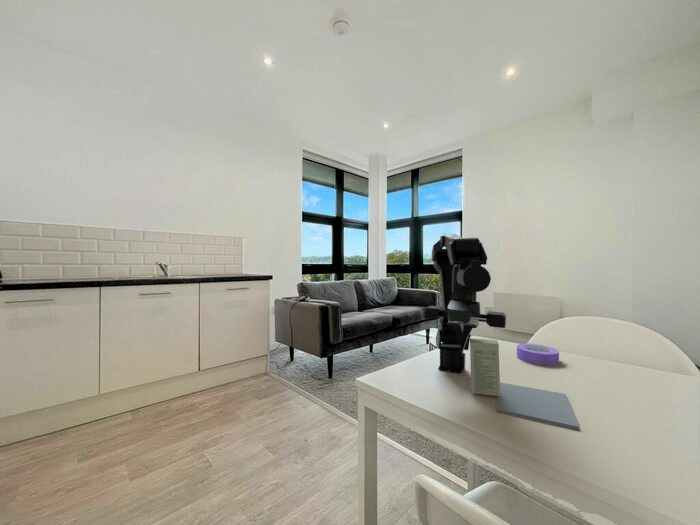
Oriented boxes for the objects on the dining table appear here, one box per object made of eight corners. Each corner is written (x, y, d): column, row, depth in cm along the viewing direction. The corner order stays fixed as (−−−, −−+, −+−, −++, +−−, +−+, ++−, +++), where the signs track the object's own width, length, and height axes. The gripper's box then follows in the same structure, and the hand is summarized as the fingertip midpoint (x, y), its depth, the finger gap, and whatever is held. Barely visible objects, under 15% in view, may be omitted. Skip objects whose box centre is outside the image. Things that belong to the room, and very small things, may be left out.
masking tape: (568, 364, 92) (568, 352, 92) (538, 367, 89) (538, 355, 89) (535, 353, 104) (535, 342, 104) (508, 355, 101) (508, 344, 101)
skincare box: (497, 389, 71) (497, 339, 72) (500, 397, 67) (500, 344, 67) (469, 386, 74) (469, 337, 74) (470, 393, 70) (470, 341, 70)
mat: (496, 411, 62) (496, 408, 62) (499, 384, 76) (499, 382, 76) (579, 430, 55) (578, 426, 55) (565, 396, 69) (565, 394, 69)
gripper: (417, 287, 71) (416, 352, 71) (505, 293, 61) (503, 367, 61) (429, 285, 80) (428, 341, 80) (507, 289, 71) (505, 353, 71)
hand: (462, 350), depth 73 cm, fingers closed
